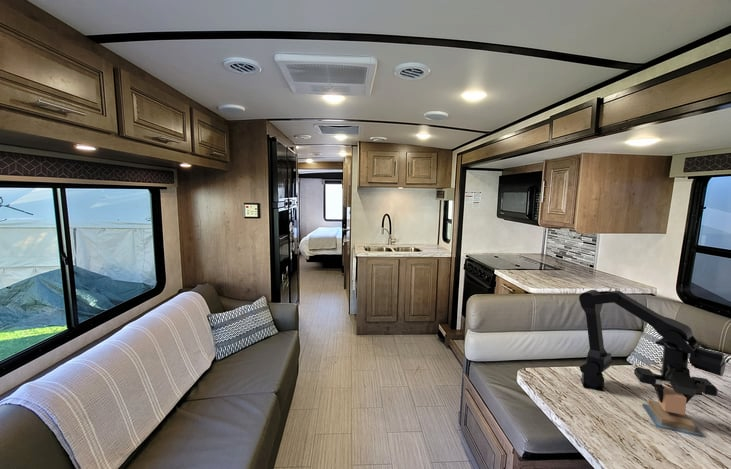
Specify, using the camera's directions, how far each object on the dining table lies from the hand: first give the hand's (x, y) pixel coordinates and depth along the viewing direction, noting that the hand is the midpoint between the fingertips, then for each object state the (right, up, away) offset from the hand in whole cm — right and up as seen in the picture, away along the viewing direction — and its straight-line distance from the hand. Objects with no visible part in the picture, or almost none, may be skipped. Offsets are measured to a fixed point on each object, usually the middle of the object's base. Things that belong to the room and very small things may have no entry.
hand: (671, 404), depth 99 cm
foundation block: (0, -6, +1) cm, 6 cm away
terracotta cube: (0, -2, 0) cm, 2 cm away
